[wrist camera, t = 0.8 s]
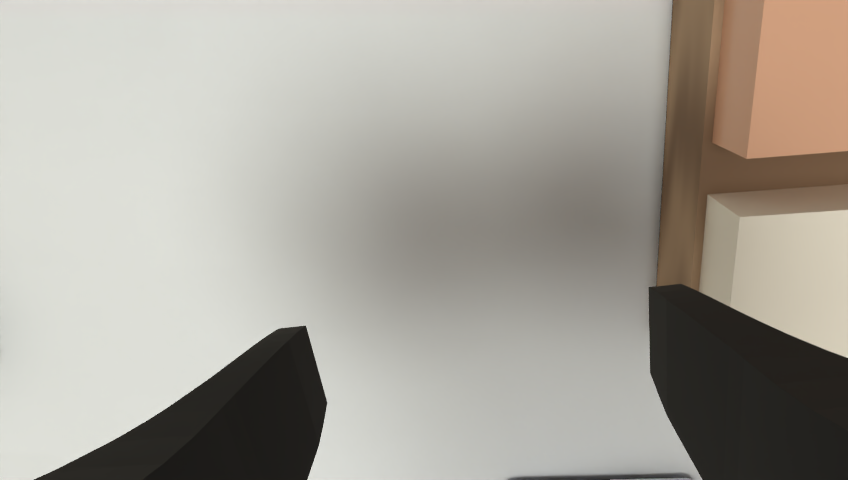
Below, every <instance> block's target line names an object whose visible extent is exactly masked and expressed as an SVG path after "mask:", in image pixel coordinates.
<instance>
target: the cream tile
mask: <svg viewBox="0 0 848 480" xmlns="http://www.w3.org/2000/svg"><path fill="white" fill-rule="evenodd" d="M699 292H701V293H703V294H705V295H707V296H709V297H711V298H713V299H715V300H717V301H719V302H721V303H723V304H725V305H727V306H729V307H731V308H733V309H735V310H737V311H739V312H742V313H744V314H746V315H748V316H750V317H752V318H754V319H756V320H758V321H760V322H762V323H765V324H767V325H769V326H771V327H773V328H775V329H778V330H780V331H782V332H784V333H787V334H789V335H791V336H794V337H796V338H798V339H801V340H803V341H806V342H808V343H810V344H813V345H815V346H818V347H820V348H823V349H825V350H828V351H830V352H833V353H836V354H838V355H841V356H844V357H847V358H848V184H845V185H832V186H818V187H804V188H790V189H776V190H763V191H749V192H735V193H721V194H708V195H707V206H706V217H705V228H704V240H703V251H702V262H701V273H700V285H699Z"/></svg>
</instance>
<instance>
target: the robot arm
mask: <svg viewBox="0 0 848 480" xmlns="http://www.w3.org/2000/svg"><path fill="white" fill-rule="evenodd" d="M649 325H650V373H651V376H652V378H653V381H654V384H655V386H656V389H657V392H658V394H659V397H660V399H661V402H662V404H663V407H664V409H665V412H666V414H667V416H668V418H669V420H670V422H671V424H672V426H673V427H674V429H675V431H676V433H677V435H678V436H679V438H680V440H681V442H682V444H683V445H684V447H685V449H686V451H687V453H688V454H689V456H690V458H691V460H692V462H693V463H694V465H695V467H696V469H697V470H698V472H699V474H700V476H701V478H702V479H703V480H848V358H847V357H844V356H841V355H838V354H836V353H833V352H830V351H828V350H825V349H823V348H820V347H818V346H815V345H813V344H810V343H808V342H806V341H803V340H801V339H798V338H796V337H794V336H791V335H789V334H787V333H784V332H782V331H780V330H778V329H775V328H773V327H771V326H769V325H767V324H765V323H762V322H760V321H758V320H756V319H754V318H752V317H750V316H748V315H746V314H744V313H742V312H739V311H737V310H735V309H733V308H731V307H729V306H727V305H725V304H723V303H721V302H719V301H717V300H715V299H713V298H711V297H709V296H707V295H705V294H703V293H701V292H699V291H697V290H695V289H692V288H690V287H688V286H685V285H683V284H674V285H665V286H656V287H649ZM326 406H327V401H326V397H325V393H324V390H323V386H322V383H321V379H320V375H319V372H318V368H317V365H316V361H315V357H314V354H313V350H312V346H311V343H310V339H309V336H308V332H307V328H306V326H299V327H290V328H281V329H278V330H276V331H274V332H273V333H271V334H269V335H268V336H266V337H265V338H264V339H262V340H261V341H259V342H258V343H257V344H255V345H254V346H252V347H251V348H250V349H248V350H247V351H246V352H244V353H243V354H242V355H240V356H239V357H238V358H236V359H235V360H234V361H232V362H231V363H230V364H228V365H227V366H226V367H224V368H223V369H222V370H220V371H219V372H218V373H216V374H215V375H214V376H212V377H211V378H210V379H208V380H207V381H206V382H204V383H203V384H201V385H200V386H198V387H197V388H195V389H194V390H193V391H191V392H190V393H188V394H187V395H185V396H184V397H183V398H181V399H180V400H178V401H177V402H175V403H174V404H173V405H171V406H170V407H168V408H167V409H165V410H163V411H162V412H160V413H159V414H157V415H156V416H154V417H152V418H151V419H149V420H148V421H146V422H144V423H143V424H141V425H139V426H137V427H136V428H134V429H132V430H131V431H129V432H127V433H126V434H124V435H122V436H120V437H119V438H117V439H115V440H113V441H111V442H110V443H108V444H106V445H104V446H102V447H100V448H98V449H96V450H94V451H92V452H90V453H88V454H86V455H84V456H82V457H80V458H78V459H76V460H74V461H72V462H70V463H68V464H66V465H64V466H62V467H60V468H59V469H56V470H54V471H52V472H50V473H48V474H46V475H43V476H41V477H39V478H37V479H34V480H307V479H308V476H309V473H310V470H311V467H312V464H313V461H314V458H315V455H316V452H317V449H318V446H319V442H320V437H321V433H322V428H323V423H324V417H325V412H326ZM612 480H692V479H690V478H656V479H612Z"/></svg>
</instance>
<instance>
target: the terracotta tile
mask: <svg viewBox="0 0 848 480" xmlns="http://www.w3.org/2000/svg"><path fill="white" fill-rule="evenodd" d="M712 143H714V144H716V145H718V146H720V147H722V148H725V149H727V150H729V151H731V152H733V153H735V154H737V155H739V156H741V157H744V158H746V159H752V158H765V157H778V156H790V155H803V154H816V153H829V152H842V151H848V0H725V3H724V14H723V25H722V37H721V48H720V59H719V70H718V82H717V93H716V104H715V116H714V127H713V138H712Z"/></svg>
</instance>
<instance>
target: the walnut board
mask: <svg viewBox="0 0 848 480" xmlns="http://www.w3.org/2000/svg"><path fill="white" fill-rule="evenodd" d="M724 3H725V0H673V10H672V28H671V45H670V62H669V80H668V97H667V114H666V132H665V149H664V166H663V184H662V201H661V218H660V235H659V253H658V270H657V286H665V285H674V284H683V285H685V286H688V287H690V288H692V289H695V290H697V291H699V285H700V273H701V262H702V251H703V240H704V228H705V217H706V206H707V195H708V194H721V193H735V192H749V191H763V190H776V189H790V188H804V187H818V186H832V185H845V184H848V151H842V152H829V153H816V154H803V155H790V156H778V157H765V158H752V159H746V158H744V157H741V156H739V155H737V154H735V153H733V152H731V151H729V150H727V149H725V148H722V147H720V146H718V145H716V144H714V143H712V138H713V127H714V116H715V104H716V93H717V82H718V70H719V59H720V48H721V37H722V25H723V14H724Z"/></svg>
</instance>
